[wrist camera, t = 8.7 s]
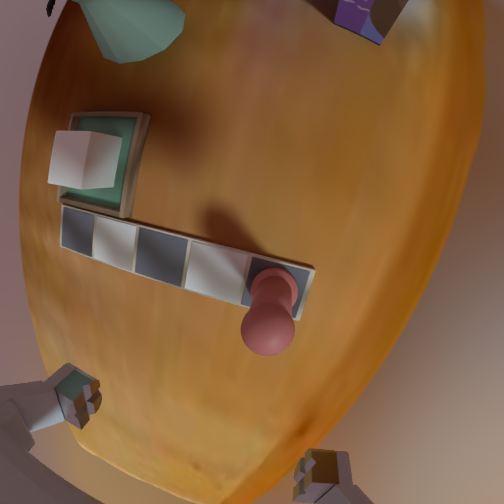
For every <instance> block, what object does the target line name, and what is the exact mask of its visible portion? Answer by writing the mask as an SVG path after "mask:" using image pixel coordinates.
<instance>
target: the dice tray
mask: <svg viewBox="0 0 504 504" xmlns="http://www.w3.org/2000/svg"><path fill="white" fill-rule="evenodd" d="M150 117H151V115H149V114H146V113H144V112H124V111H90V112H71V116H70V120H69V124H68V129H67V131H93V132H98V133H103V134H107V135H112V136H117V137H121V138H123V139H122V144H121V149H120V154H119V159H118V164H117V169H116V175H115V181H114V187H110V188H95V189H83V190H81V189H76V188H71V187H66V186H61V185H58V190H57V200H56V201H57V202H61V203H65V204H69V205H73V206H77V207H81V208H85V209H89V210H93V211H96V212H100V213H104V214H108V215H112V216H116V217H120V218H127V217H131V215H132V208H133V201H134V195H135V188H136V182H137V177H138V171H139V166H140V161H141V156H142V151H143V147H144V142H145V138H146V133H147V129H148V125H149V121H150Z"/></svg>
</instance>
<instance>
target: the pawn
mask: <svg viewBox="0 0 504 504" xmlns="http://www.w3.org/2000/svg"><path fill="white" fill-rule="evenodd" d="M250 294H251V299H252V304H251V307H250V310H249V311H248V312H247V313H246V315H245V317H244V318H243V321H242V324H241V335H242V339H243V341H244V343H245V344H246V346H247V347H248V348H249V349H250V350H251V351H253V352H254V353H257V354H259V355H263V356H272V355H276V354H279V353H281V352H282V351H284V350H285V349H286V348H287V347H288V346H289V345H290V343H291V342H292V340H293V337H294V332H295V326H294V322H293V319H292V307H293V305H294V304H295V302H296V300H297V296H298V287H297V282H296V280H295V278H294V276H293V275H292V274H291V273H290V272H289V271H287V270H285V269H283V268H279V267H269V268H266V269H264V270H262V271H260V272H259V273H258V274H257V275H256V277H255V278H254V280H253V283H252V286H251V290H250Z"/></svg>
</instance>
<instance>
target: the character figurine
mask: <svg viewBox="0 0 504 504" xmlns="http://www.w3.org/2000/svg"><path fill="white" fill-rule="evenodd" d="M72 1H74V2H77V3H79V4H80V7H81V9H82V11H83V13H84V15H85V17H86V19H87V22H88V24H89V27H90V29H91V31H92V33H93V36H94V38H95V40H96V43H97V45H98V47H99V49H100V51H101V53H102V55H103V57H104V58H105V59H108V60H111V61H114V62H116V63H119V64H121V63H127V62H135V61H142V60H144V59H146V58H148V57H150V56H152V55H154V54H157V53H159V52H161V51H163V50H165V49H166V48H167V47H168V46H169V45H170V44H171V43H172V42H173V41H174V40H175V39H176V38H177V37H178V35H179V34H180V33H181V32H182V30H183V25H184V19H185V14H184V12H183V11H182V10H181V9H180V8H179V6H178V5H177V4H176V3H174V2H172V1H169V0H72ZM53 5H55V0H49V2H48V4H47V8H46V10H47V15H48V17H49V16H51V13H52V9H53Z"/></svg>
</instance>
